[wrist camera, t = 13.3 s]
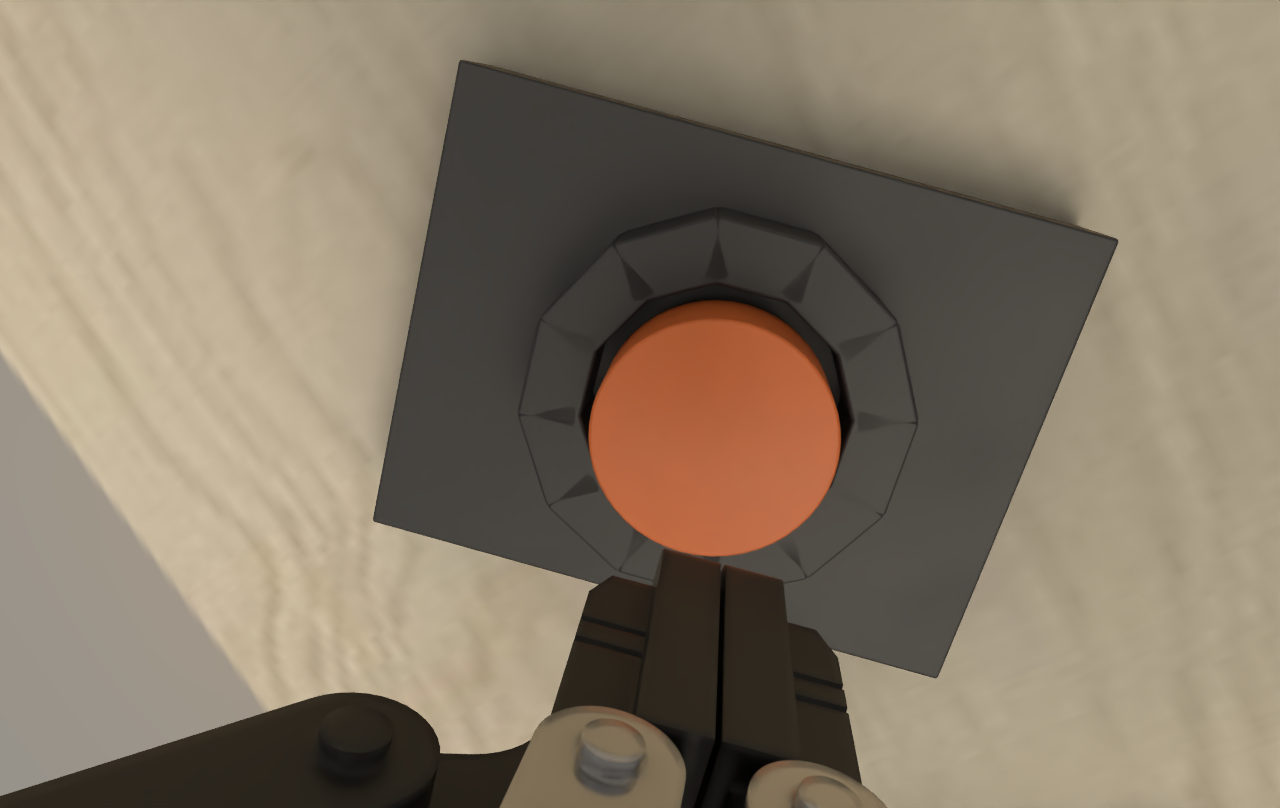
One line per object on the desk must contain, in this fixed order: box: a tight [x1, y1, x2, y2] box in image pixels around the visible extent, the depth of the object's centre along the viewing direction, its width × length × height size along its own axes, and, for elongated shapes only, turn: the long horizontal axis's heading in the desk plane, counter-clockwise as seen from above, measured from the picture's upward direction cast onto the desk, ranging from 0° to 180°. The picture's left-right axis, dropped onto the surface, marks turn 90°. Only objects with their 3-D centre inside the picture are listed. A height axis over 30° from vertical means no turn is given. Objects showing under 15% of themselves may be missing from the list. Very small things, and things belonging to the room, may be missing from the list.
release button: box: [588, 300, 841, 556], centre depth 18 cm, size 4×4×2 cm
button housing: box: [373, 60, 1118, 678], centre depth 20 cm, size 13×10×4 cm
